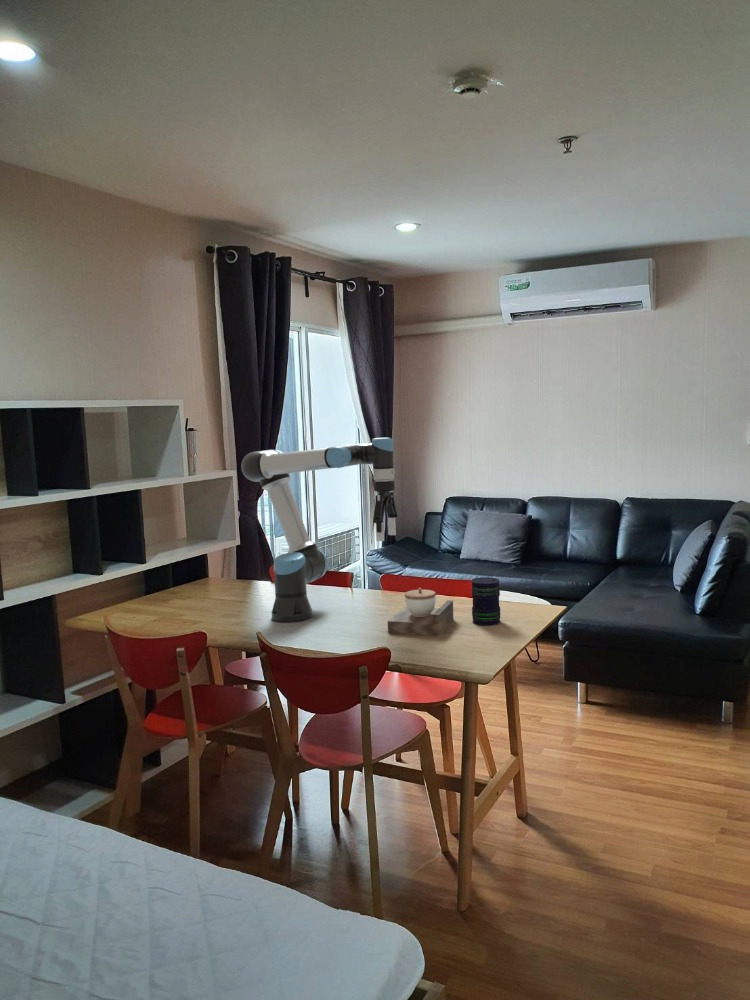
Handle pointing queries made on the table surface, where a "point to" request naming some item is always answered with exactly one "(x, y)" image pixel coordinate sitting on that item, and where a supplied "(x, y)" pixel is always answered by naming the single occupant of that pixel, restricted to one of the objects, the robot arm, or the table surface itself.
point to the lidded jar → (420, 602)
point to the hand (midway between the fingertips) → (386, 538)
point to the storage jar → (485, 601)
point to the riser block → (422, 621)
